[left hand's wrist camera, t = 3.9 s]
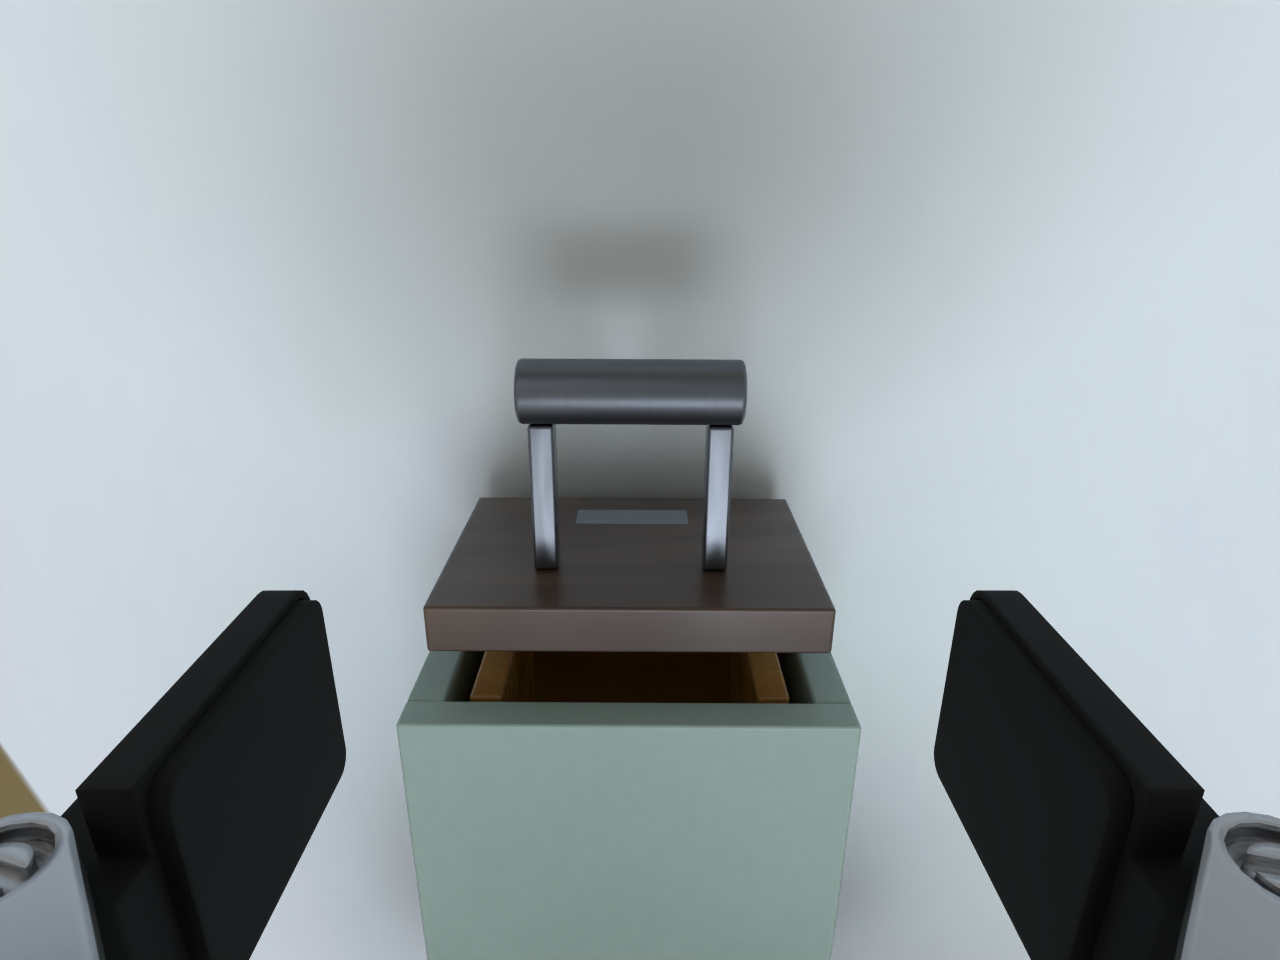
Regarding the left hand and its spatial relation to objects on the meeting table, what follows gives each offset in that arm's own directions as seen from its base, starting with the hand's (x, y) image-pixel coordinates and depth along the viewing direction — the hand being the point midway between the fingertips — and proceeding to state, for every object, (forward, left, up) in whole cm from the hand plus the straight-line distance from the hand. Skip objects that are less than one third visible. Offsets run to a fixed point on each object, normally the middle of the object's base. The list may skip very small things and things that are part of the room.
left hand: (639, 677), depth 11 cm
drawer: (+8, -3, -12) cm, 15 cm away
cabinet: (+14, -5, -13) cm, 20 cm away
